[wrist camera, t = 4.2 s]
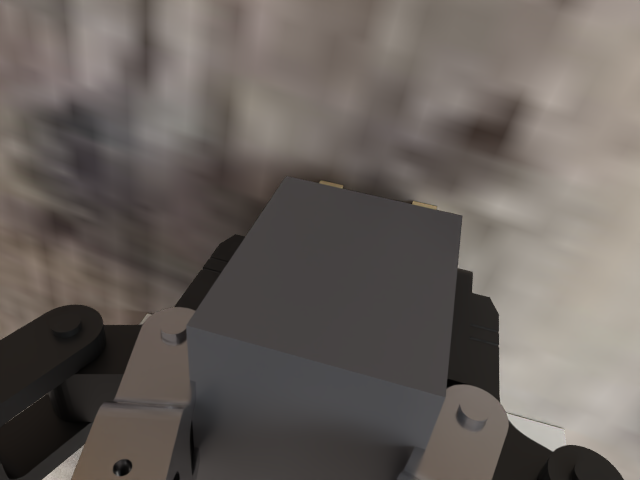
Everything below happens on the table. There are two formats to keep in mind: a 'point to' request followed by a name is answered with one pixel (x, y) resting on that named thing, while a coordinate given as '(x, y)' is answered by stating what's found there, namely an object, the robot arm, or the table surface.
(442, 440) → the robot arm
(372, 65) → the table surface
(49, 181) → the table surface
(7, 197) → the table surface
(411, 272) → the plug
